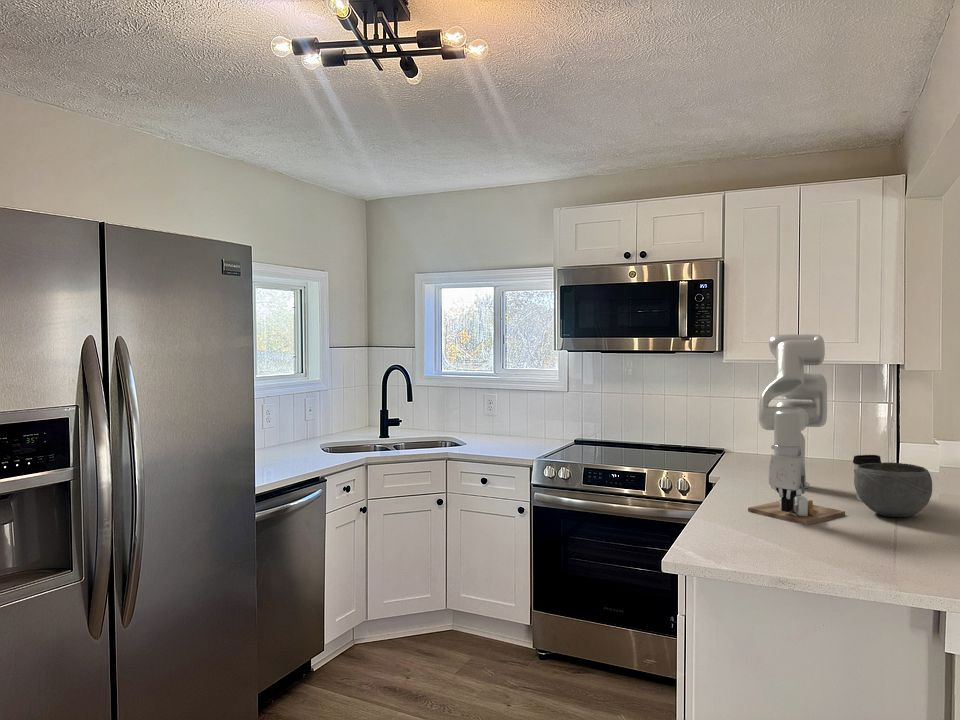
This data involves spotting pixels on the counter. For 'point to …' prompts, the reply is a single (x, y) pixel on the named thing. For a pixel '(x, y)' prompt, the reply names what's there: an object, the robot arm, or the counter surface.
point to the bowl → (893, 488)
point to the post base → (813, 516)
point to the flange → (799, 506)
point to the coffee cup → (863, 460)
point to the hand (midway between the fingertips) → (787, 510)
